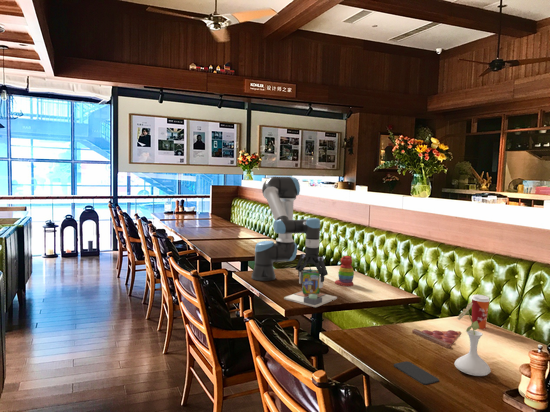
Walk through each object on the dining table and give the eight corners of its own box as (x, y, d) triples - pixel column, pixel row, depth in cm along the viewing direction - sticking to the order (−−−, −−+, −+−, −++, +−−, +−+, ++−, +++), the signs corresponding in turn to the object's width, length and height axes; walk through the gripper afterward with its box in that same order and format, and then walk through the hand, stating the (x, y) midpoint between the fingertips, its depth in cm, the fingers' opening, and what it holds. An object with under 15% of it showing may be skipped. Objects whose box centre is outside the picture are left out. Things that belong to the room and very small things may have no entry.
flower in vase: (468, 361, 153) (472, 294, 151) (497, 375, 143) (502, 303, 141) (443, 368, 147) (448, 298, 145) (472, 383, 137) (477, 308, 135)
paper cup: (482, 331, 185) (484, 300, 184) (465, 325, 191) (467, 295, 190) (491, 327, 189) (493, 297, 188) (475, 322, 195) (477, 293, 194)
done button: (307, 299, 215) (307, 295, 215) (311, 298, 218) (312, 293, 218) (314, 301, 212) (314, 296, 212) (318, 299, 215) (319, 295, 215)
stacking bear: (348, 281, 264) (350, 253, 263) (357, 285, 255) (358, 257, 253) (333, 282, 260) (334, 254, 259) (341, 287, 251) (342, 257, 250)
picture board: (284, 299, 222) (284, 292, 222) (306, 291, 239) (306, 285, 239) (315, 307, 210) (315, 300, 210) (336, 298, 226) (337, 292, 226)
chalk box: (319, 294, 225) (320, 267, 223) (302, 293, 225) (303, 266, 224) (318, 289, 234) (319, 263, 233) (301, 289, 234) (302, 263, 233)
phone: (424, 384, 134) (392, 364, 148) (423, 386, 134) (392, 366, 148) (440, 380, 137) (408, 360, 151) (440, 382, 137) (408, 363, 151)
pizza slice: (411, 329, 180) (442, 322, 190) (411, 334, 180) (442, 327, 190) (448, 344, 164) (480, 336, 174) (447, 350, 164) (479, 342, 174)
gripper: (290, 244, 232) (288, 282, 234) (327, 250, 217) (326, 291, 218) (298, 242, 238) (296, 280, 240) (335, 248, 223) (333, 288, 224)
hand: (310, 285), depth 229 cm, fingers closed on chalk box, 12 cm apart
